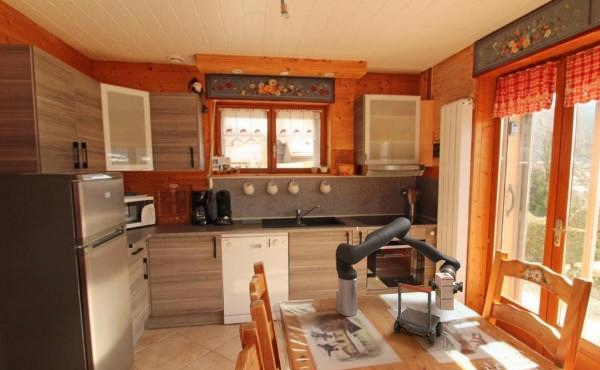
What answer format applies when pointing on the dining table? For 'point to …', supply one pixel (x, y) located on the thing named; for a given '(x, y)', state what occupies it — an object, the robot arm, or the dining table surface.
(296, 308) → the dining table surface
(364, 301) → the dining table surface
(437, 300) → the syrup box
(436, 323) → the trolley
